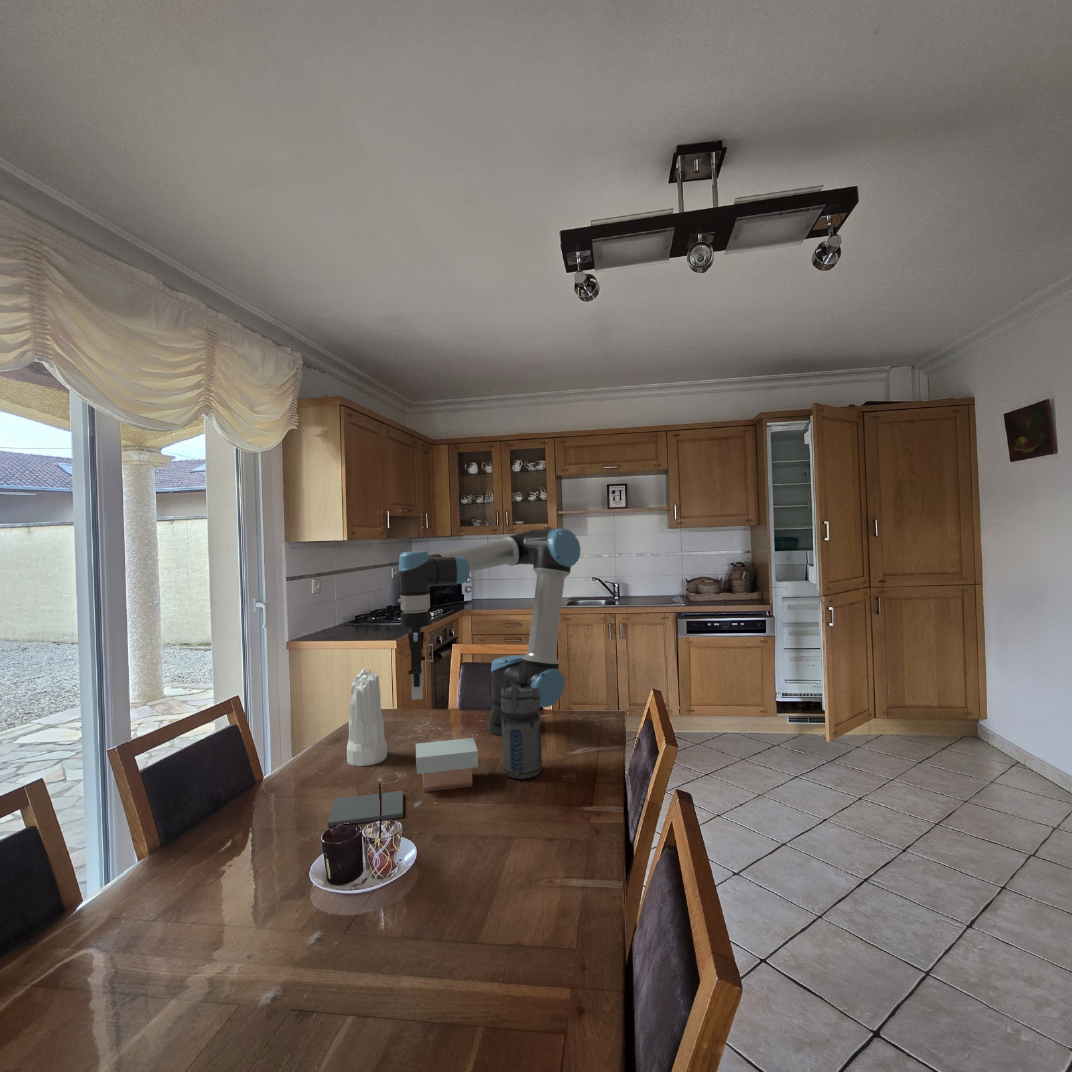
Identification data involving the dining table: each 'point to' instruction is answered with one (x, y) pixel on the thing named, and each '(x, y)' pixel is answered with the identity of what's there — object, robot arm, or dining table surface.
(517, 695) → the beverage bottle
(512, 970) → the dining table surface
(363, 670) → the white ridged column
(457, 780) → the brown open box
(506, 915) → the dining table surface
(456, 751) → the board
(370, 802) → the mat
